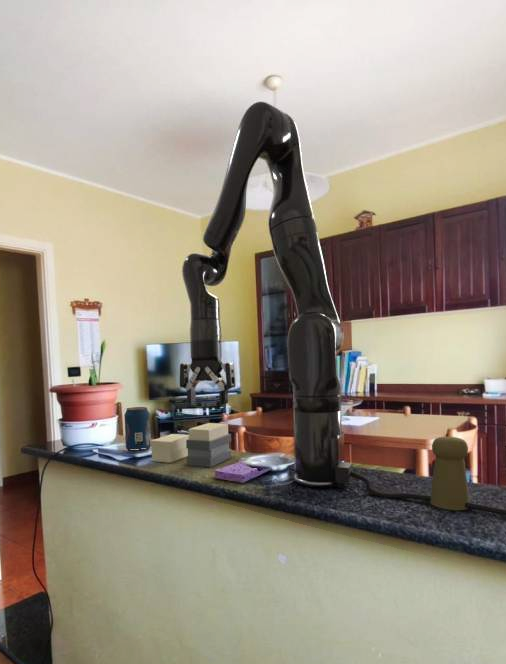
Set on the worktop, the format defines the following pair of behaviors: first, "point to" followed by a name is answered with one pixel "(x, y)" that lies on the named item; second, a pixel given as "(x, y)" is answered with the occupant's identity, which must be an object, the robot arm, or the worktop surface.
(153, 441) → the cream books
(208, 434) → the pale yellow block
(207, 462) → the grey books
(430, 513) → the worktop surface
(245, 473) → the sponge
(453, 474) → the cork
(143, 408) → the soda can
